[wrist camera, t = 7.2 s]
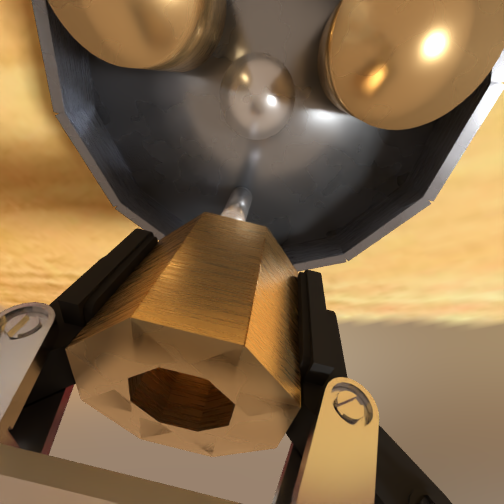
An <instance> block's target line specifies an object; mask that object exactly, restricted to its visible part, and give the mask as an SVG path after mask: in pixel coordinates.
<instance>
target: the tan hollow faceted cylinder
mask: <svg viewBox="0 0 504 504" xmlns="http://www.w3.org/2000/svg"><path fill="white" fill-rule="evenodd" d="M297 277H298V272H297V270H296V269H295V267H294V266H293V264H292V263H291V261H290V260H289V258H288V257H287V255H286V254H285V252H284V251H283V249H282V248H281V246H280V245H279V243H278V242H277V241H276V239H275V238H274V236H273V235H272V233H271V232H270V230H269V229H268V227H266V226H262V225H258V224H254V223H250V222H246V221H241V220H237V219H233V218H229V217H225V216H221V215H217V214H213V213H209V212H203V213H202V214H200V215H199V216H197V217H195V218H194V219H192V220H191V221H189V222H187V223H186V224H184V225H182V226H181V227H179V228H178V229H176V230H174V231H173V232H171V233H170V234H168V235H166V236H165V237H163V238H162V239H160V241H159V242H158V243H157V244H156V246H155V247H154V248H153V249H152V250H151V251H150V252H149V254H148V255H147V256H146V257H145V258H144V259H143V261H142V262H141V263H140V264H139V265H138V266H137V267H136V269H135V270H134V271H133V272H132V273H131V274H130V275H129V277H128V278H127V279H126V280H125V281H124V282H123V284H122V285H121V286H120V287H119V288H118V289H117V290H116V292H115V293H114V294H113V295H112V296H111V297H110V299H109V300H108V301H107V302H106V303H105V304H104V305H103V307H102V308H101V309H100V310H99V311H98V312H97V314H96V315H95V316H94V317H93V318H92V319H91V320H90V321H89V322H88V323H87V324H86V326H85V327H84V328H83V329H82V330H81V331H80V332H79V334H78V335H77V336H76V337H75V338H74V339H73V341H72V342H71V343H70V344H69V345H68V346H67V347H66V349H65V350H66V353H67V356H68V360H69V363H70V366H71V369H72V372H73V376H74V379H75V382H76V385H77V388H78V391H79V395H80V398H81V400H82V401H84V402H85V403H87V404H88V405H90V406H91V407H93V408H94V409H96V410H97V411H99V412H100V413H102V414H103V415H105V416H106V417H108V418H109V419H111V420H113V421H114V422H116V423H117V424H118V425H120V426H121V427H123V428H124V429H126V430H128V431H129V432H130V433H132V434H133V435H135V436H136V437H138V438H140V439H142V440H146V441H150V442H154V443H158V444H162V445H166V446H170V447H174V448H178V449H182V450H186V451H190V452H194V453H199V454H202V455H206V456H210V457H211V456H212V457H215V456H223V455H230V454H237V453H245V452H252V451H259V450H267V449H273V448H277V446H278V444H279V443H280V441H281V439H282V438H283V436H284V435H285V433H286V431H287V430H288V428H289V426H290V425H291V423H292V421H293V420H294V418H295V416H296V415H297V413H298V411H299V410H300V408H301V388H300V369H299V339H298V282H297Z"/></svg>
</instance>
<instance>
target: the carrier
mask: <svg viewBox="0 0 504 504" xmlns="http://www.w3.org/2000/svg"><path fill="white" fill-rule="evenodd" d="M32 5H33V10H34V15H35V20H36V26H37V31H38V36H39V41H40V46H41V51H42V56H43V61H44V66H45V71H46V76H47V81H48V86H49V91H50V96H51V101H52V106H53V111H54V112H56V113H59V114H57V115H55V116H56V118H57V119H58V121H59V122H60V124H61V125H62V127H63V129H64V130H65V132H66V133H67V135H68V136H69V138H70V140H71V141H72V143H73V144H74V146H75V147H76V149H77V151H78V152H79V154H80V155H81V157H82V158H83V160H84V162H85V163H86V165H87V166H88V168H89V169H90V171H91V173H92V174H93V176H94V177H95V179H96V180H97V182H98V183H99V185H100V187H101V188H102V190H103V191H104V193H105V194H106V196H107V198H108V199H109V201H110V202H111V204H112V205H113V207H114V206H117V207H116V208H115V209H116V210H118V211H119V212H120V213H122V214H123V215H125V216H126V217H127V218H129V219H130V220H131V221H133V222H134V223H136V224H137V225H138V226H140V227H141V228H142V229H144V230H146V231H150V232H153V234H154V236H155V237H157V239H158V240H159V241H160V239H162V238H163V237H165V236H166V235H168V234H170V233H171V232H173V231H174V230H176V229H178V228H179V227H181V226H182V225H184V224H186V223H187V222H189V221H191V220H192V219H194V218H195V217H197V216H199V215H200V214H202V213H203V212H209V213H213V214H217V215H221V216H225V217H229V218H233V219H237V220H241V221H246V222H250V223H254V224H258V225H262V226H266V227H268V229H269V230H270V232H271V233H272V235H273V236H274V238H275V239H276V241H277V242H278V243H279V245H280V246H281V248H282V249H283V251H284V252H285V254H286V255H287V257H288V258H289V260H290V261H291V263H292V264H293V266H294V267H295V269H296V270H297V272H298V271H303V270H306V269H307V270H308V269H313V268H318V267H323V266H329V265H334V264H339V263H344V262H346V259H347V260H348V261H349V260H351V259H352V258H354V257H355V256H357V255H358V254H359V253H361V252H362V251H364V250H365V249H367V248H368V247H370V246H371V245H372V244H374V243H375V242H377V241H378V240H380V239H381V238H382V237H384V236H385V235H387V234H388V233H390V232H391V231H393V230H394V229H395V228H397V227H398V226H400V225H401V224H403V223H404V222H405V221H407V220H408V219H410V218H411V217H413V216H414V215H416V214H417V213H418V212H420V211H421V210H423V209H424V208H426V207H427V206H428V205H430V204H431V203H430V202H429V201H428V200H430V201H434V200H435V198H436V196H437V195H438V193H439V192H440V190H441V188H442V187H443V185H444V184H445V182H446V180H447V179H448V177H449V176H450V174H451V172H452V171H453V169H454V168H455V166H456V164H457V163H458V161H459V160H460V158H461V156H462V155H463V153H464V152H465V150H466V148H467V147H468V145H469V144H470V142H471V140H472V139H473V137H474V136H475V134H476V132H477V131H478V129H479V127H480V126H481V124H482V123H483V121H484V119H485V118H486V116H487V115H488V113H489V111H490V110H491V108H492V107H493V105H494V103H495V102H496V100H497V99H498V97H499V95H500V94H501V92H502V91H503V89H504V84H501V82H504V0H32Z"/></svg>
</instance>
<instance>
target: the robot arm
mask: <svg viewBox="0 0 504 504" xmlns="http://www.w3.org/2000/svg"><path fill="white" fill-rule="evenodd" d="M157 243H158V239H157V237H155V236H154V234H153V232H150V231H146V230H142V229H135V230H134V231H133V232H132V233H131V234H130V235H128V236H127V237H126V238H125V239H124V240H123V241H122V242H121V243H120V244H119V245H117V246H116V247H115V248H114V249H113V250H112V251H111V252H110V253H109V254H107V255H106V256H105V257H103V258H101V259H100V260H99V261H98V262H97V263H96V264H95V265H93V266H92V267H91V268H90V269H89V270H88V271H87V272H86V273H84V274H83V275H82V276H81V277H80V278H79V279H78V280H77V281H76V282H74V283H73V284H72V285H71V286H70V287H69V288H68V289H67V290H66V291H64V292H63V293H62V294H61V295H60V296H59V297H58V298H57V299H55V300H54V301H53V302H52V303H51V304H50V305H46V304H44V303H37V302H32V303H24V304H20V305H16V306H13V307H11V308H8V309H6V310H4V311H2V312H1V313H0V504H241V503H237V502H233V501H229V500H225V499H221V498H217V497H213V496H210V495H206V494H202V493H197V492H194V491H190V490H186V489H182V488H178V487H174V486H170V485H166V484H162V483H158V482H154V481H150V480H145V479H142V478H138V477H133V476H130V475H126V474H121V473H118V472H114V471H109V470H106V469H101V468H97V467H93V466H89V465H85V464H81V463H77V462H73V461H69V460H65V459H61V458H57V457H53V456H49V453H50V450H51V447H52V445H53V442H54V439H55V436H56V434H57V431H58V428H59V425H60V422H61V420H62V417H63V414H64V411H65V409H66V406H67V403H68V401H69V398H70V395H71V392H72V390H73V387H74V384H76V382H75V379H74V376H73V372H72V369H71V366H70V363H69V360H68V356H67V353H66V350H65V349H66V347H67V346H68V345H69V344H70V343H71V342H72V341H73V339H74V338H75V337H76V336H77V335H78V334H79V332H80V331H81V330H82V329H83V328H84V327H85V326H86V324H87V323H88V322H89V321H90V320H91V319H92V318H93V317H94V316H95V315H96V314H97V312H98V311H99V310H100V309H101V308H102V307H103V305H104V304H105V303H106V302H107V301H108V300H109V299H110V297H111V296H112V295H113V294H114V293H115V292H116V290H117V289H118V288H119V287H120V286H121V285H122V284H123V282H124V281H125V280H126V279H127V278H128V277H129V275H130V274H131V273H132V272H133V271H134V270H135V269H136V267H137V266H138V265H139V264H140V263H141V262H142V261H143V259H144V258H145V257H146V256H147V255H148V254H149V252H150V251H151V250H152V249H153V248H154V247H155V246H156V244H157ZM297 282H298V339H299V369H300V388H301V408H300V410H299V411H298V413H297V415H296V416H295V418H294V420H293V421H292V423H291V425H290V426H289V428H288V430H287V431H286V434H287V436H288V437H289V438H290V440H291V441H292V442H291V445H290V448H289V452H288V455H287V458H286V461H285V464H284V467H283V470H282V474H281V477H280V480H279V483H278V486H277V489H276V492H275V496H274V499H273V502H272V504H452V503H451V502H450V501H449V499H448V498H447V497H446V496H445V495H444V493H443V492H442V491H441V490H440V489H439V488H438V487H437V486H436V485H435V484H434V483H433V482H432V481H431V480H430V479H429V478H428V477H427V475H426V474H424V472H423V471H422V470H421V469H420V468H419V467H418V466H417V465H416V464H415V463H414V462H413V461H412V460H411V458H410V457H409V456H408V455H407V454H406V453H405V452H404V451H403V450H402V449H401V448H400V447H399V446H398V445H397V444H396V443H395V441H394V440H393V439H392V438H391V437H390V436H389V435H388V434H387V433H386V432H385V431H384V430H383V429H382V428H381V427H380V426H379V413H378V408H377V406H376V403H375V401H374V399H373V398H372V396H371V395H370V393H369V392H368V391H367V390H366V389H365V388H364V387H363V386H362V385H360V384H358V383H357V382H356V381H354V380H351V379H349V378H347V374H346V368H345V362H344V357H343V351H342V346H341V340H340V334H339V329H338V323H337V318H336V314H335V312H334V311H330V310H326V304H325V297H324V290H323V283H322V276H321V273H319V272H315V271H311V270H307V269H306V270H305V272H304V273H303V272H299V274H298V277H297Z"/></svg>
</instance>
